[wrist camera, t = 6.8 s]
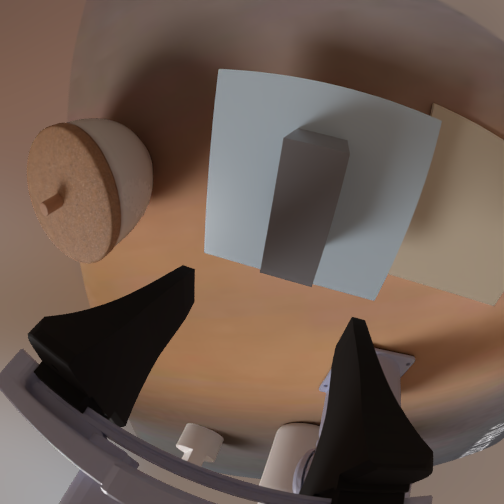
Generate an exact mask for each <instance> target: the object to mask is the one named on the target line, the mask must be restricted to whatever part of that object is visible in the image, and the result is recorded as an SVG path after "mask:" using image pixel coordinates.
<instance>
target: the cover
mask: <svg viewBox="0 0 504 504" xmlns="http://www.w3.org/2000/svg"><path fill="white" fill-rule="evenodd" d="M441 123H442V121H441V120H438V119H436V118H434V117H432V116H429V115H427V114H424V113H422V112H419V111H417V110H414V109H412V108H409V107H406V106H404V105H401V104H398V103H395V102H392V101H390V100H387V99H383V98H380V97H377V96H374V95H371V94H367V93H364V92H360V91H357V90H353V89H349V88H345V87H341V86H337V85H333V84H329V83H324V82H319V81H314V80H309V79H304V78H298V77H292V76H286V75H279V74H272V73H264V72H255V71H244V70H230V69H219V70H218V78H217V87H216V96H215V105H214V115H213V125H212V136H211V147H210V160H209V173H208V188H207V204H206V223H205V247H204V253H207V254H210V255H214V256H217V257H221V258H224V259H227V260H231V261H234V262H238V263H241V264H245V265H248V266H252V267H255V268H259V269H260V272H261V273H264V274H268V275H271V276H274V277H278V278H281V279H285V280H289V281H292V282H296V283H299V284H303V285H306V286H310V287H312V284H315V285H319V286H322V287H326V288H329V289H333V290H337V291H340V292H344V293H348V294H351V295H355V296H359V297H362V298H366V299H370V300H373V301H374V300H375V299H376V297H377V295H378V293H379V291H380V289H381V287H382V285H383V283H384V281H385V279H386V277H387V274H388V272H389V270H390V268H391V266H392V264H393V262H394V259H395V257H396V255H397V253H398V250H399V248H400V246H401V244H402V241H403V239H404V236H405V234H406V232H407V229H408V227H409V224H410V222H411V219H412V216H413V214H414V211H415V209H416V206H417V203H418V200H419V198H420V195H421V192H422V189H423V186H424V183H425V180H426V177H427V174H428V171H429V167H430V164H431V161H432V157H433V154H434V150H435V147H436V143H437V139H438V135H439V131H440V127H441Z"/></svg>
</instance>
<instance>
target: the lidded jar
mask: <svg viewBox="0 0 504 504" xmlns="http://www.w3.org/2000/svg"><path fill="white" fill-rule="evenodd" d="M27 182H28V189H29V195H30V198H31V202H32V205H33V208H34V211H35V213H36V216H37V218H38V220H39V222H40V224H41V226H42V228H43V229H44V231H45V232H46V234H47V235H48V237H49V238H50V239H51V241H52V242H53V243H54V244H55V245H56V246H57V247H58V248H59V249H60V250H61V251H62V252H63V253H64V254H66V255H67V256H69V257H70V258H72V259H74V260H76V261H78V262H82V263H95V262H98V261H100V260H102V259H103V258H104V257H105V256H106V255H107V254H108V253H109V252H111V251H112V249H113V248H114V247H115V246H116V245H117V244H118V243H119V242H120V241H122V240H123V239H124V238H125V237H126V236H127V235H128V234H129V233H130V232H131V231H132V230H133V229H134V227H135V226H136V225H137V223H138V222H139V221H140V219H141V218H142V216H143V215H144V213H145V210H146V208H147V206H148V204H149V201H150V198H151V194H152V188H153V166H152V161H151V157H150V154H149V152H148V150H147V148H146V147H145V145H144V144H143V143H142V142H141V140H140V139H139V137H138V136H137V135H136V134H135V133H134V132H133V131H131V130H130V129H129V128H127V127H126V126H124V125H122V124H120V123H118V122H115V121H112V120H108V119H100V118H88V119H80V120H75V121H71V122H67V123H58V124H55V125H52V126H49V127H46V128H45V129H43V130H42V131H41V132H40V133H39V134H38V135H37V137H36V138H35V140H34V141H33V143H32V146H31V148H30V152H29V156H28V162H27Z"/></svg>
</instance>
